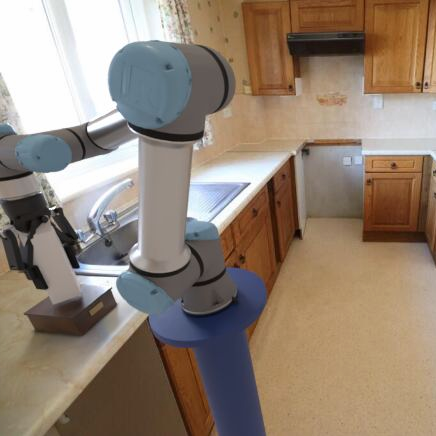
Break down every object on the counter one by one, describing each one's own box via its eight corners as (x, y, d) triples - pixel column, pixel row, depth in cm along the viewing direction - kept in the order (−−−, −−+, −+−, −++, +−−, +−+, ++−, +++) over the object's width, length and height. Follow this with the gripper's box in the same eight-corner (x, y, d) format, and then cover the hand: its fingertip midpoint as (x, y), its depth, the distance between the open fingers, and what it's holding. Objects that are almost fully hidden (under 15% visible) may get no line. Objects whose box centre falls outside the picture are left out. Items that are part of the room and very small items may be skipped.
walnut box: (118, 303, 92) (111, 286, 90) (81, 336, 81) (72, 318, 78) (75, 299, 95) (67, 283, 92) (33, 331, 83) (23, 313, 81)
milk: (81, 295, 84) (47, 218, 75) (52, 305, 81) (13, 226, 71) (80, 284, 88) (47, 211, 79) (52, 293, 85) (15, 218, 76)
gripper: (49, 179, 83) (81, 255, 92) (-50, 213, 64) (3, 303, 74) (74, 180, 82) (104, 256, 91) (-19, 214, 63) (31, 306, 72)
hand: (59, 277), depth 82 cm, fingers closed on milk, 8 cm apart
